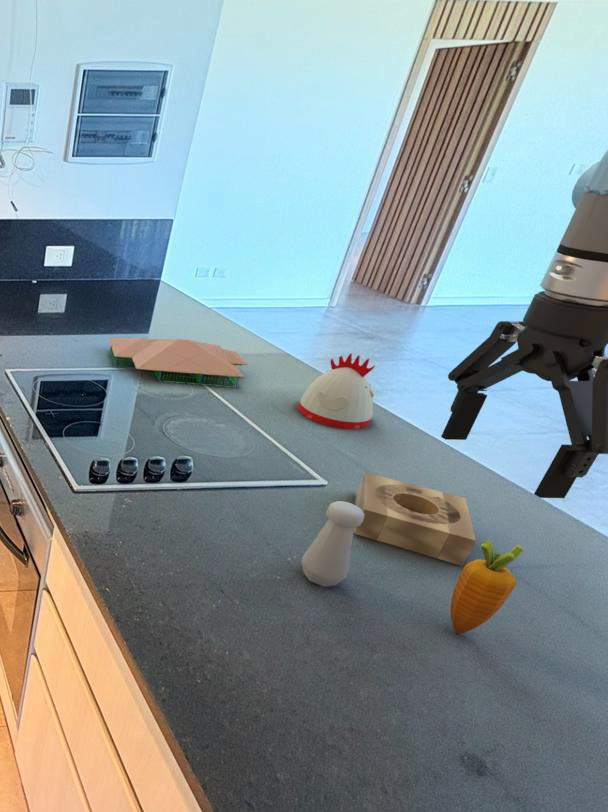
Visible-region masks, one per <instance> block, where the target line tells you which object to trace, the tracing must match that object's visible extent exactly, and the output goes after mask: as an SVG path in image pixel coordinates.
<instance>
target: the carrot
mask: <svg viewBox="0 0 608 812" xmlns="http://www.w3.org/2000/svg"><path fill="white" fill-rule="evenodd" d="M484 542H485V543H481V544H480V548H481V550H482V553H483V556H484V559H481V558H478V559H475V560H472V561H469V562H468V563H466V564H465V565H464V567H463V568H462V571H461V573H460V575H459V577H458V579H457V581H456V584H455V587H454V588H453V592H452V596H451V601H450V607H449V613H450V621H451V625H452V629H453V630H454V631H455V633H456V634H458V635H459V634H461V635H462V634H465V633H467V632H470V631H472V630H475V629H476V628H478V627H480V626H481V625H483V624H485V623H486V622H487V621H488V620H489V619H490V618H492V617H493V616H494V615H495V614H496V613H497V612H498V611H499V610H500V609H501V607H502V606H503V605H504V603H505V602H506V601H507V599H509V597H510V594H512V592H513V590H514V589H515V588H516V586H517V579H516V577H515V576H514V575H513V573H512V572H511V570H510V569H509V568H507V567H506V566H507V565H509V564H510V563H512V562H513V561H515V560H516V558H517V557H519V555H521V554H522V552H523V551H524V549H523V547H522V546H520V545H519V544H516V545H515V546H514V547H513V548H511V550H510V551H509V552H506V553H504V554H502V555H501V553H500V552H499V551H496V552H495V553H494V546H493V543H492V541H491V540H490V539H489V540H486V541H484Z"/></svg>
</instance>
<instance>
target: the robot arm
mask: <svg viewBox="0 0 608 812" xmlns="http://www.w3.org/2000/svg"><path fill="white" fill-rule="evenodd" d="M571 202H572V205H573V208H574V211H573V214H572V216H571V218H570V220H569V223H568V225H567V227H566V230H565V231H564V234H563V236H562V238H561V240H560V242H559V245H558V247H557V249H556V251H555V252H554V254H553V257H552V258H551V261H550V262H549V265H548V267H547V269H546V271H545V273H544V275H543V278H542V280H541V282H540V284H539V286H540V287H541V289H542V291H539V292H538V293H535V294H534V295H533V297H532V300H531V301H530V303H529V306H528V308H527V310H526V312H525V314H524V316H523V318H522V321H521V320H519V321H517V320H516V321H513V320H509V321H508V320H500V321H498V322H497V323H496V325H494V326H495V327H494V328H493V330H492V331H491V334H490V335H489V337H487V338H486V339H485V340H484V341H483V342H482V343H481V344H479V346H477V347H476V348H475V349H474V350H473V351H472V352H471V353H470V354H469V355H468V356H466V357H465V358H464V359H463V360H462V361H461V362H460V363H458V364H457V365H456V366H455V367H454V368H453V369H452V370H451V371H450V372H448V373H447V374H448V375H447V377H448V380H449V381H451V382H454V383H455V384H456V388H457V393H456V395H455V397H454V399H453V401H452V403H451V405H450V412H451V414H450V416H449V418H448V420H447V423H446V425H445V427H444V429H443V430H442V431H443V432H442V433H441V436H440V437H441V438H442V439H444V440H446V441H447V440H451V441H453V440H455V441H467V439H468V437H469V435H470V433H471V431H472V429H473V426H474V424H475V422H476V421H477V418H478V417H479V414H480V412H481V410H482V408H483V406H484V404H485V402H486V399H487V397H488V395H487V394H485V393H484V392H488V388H491V387H492V386H494V385H496V384H498V383H501V382H503V381H505V380H507V379H508V378H510V377H512V376H514V375H517V374H519V373H521V372H525V373H528V374H532V375H536V376H537V377H539V378H540V379H541V380H543V381H546V382H550V383H551V386H552V388H553V390H555V391H557V393H558V395H559V400H560V403H561V409H562V412H563V415H564V419H565V420H564V421H565V423H566V427H567V431H568V437H569V439H570V443H571V444H560V447H559V448H558V450H557V451H556V454H555V455H554V458H553V459H552V461H551V462H550V465H549V466H548V468H547V470H546V471H545V474H544V475H543V477H542V479H541V480H540V483H539V484H538V486H537V488H536V489H535V491H534V493H533V495H535V496H536V497H538V498H540V499H565V498H566V497H567V495H568V493H569V491H570V489H571V488H572V486H573V485H574V483H575V481H576V480H577V478H584V477H585V476H587V474H588V473H589V470H590V469H591V467H592V466H593V465H594V462H595V461H596V459H597V458H598V456H599V455H608V356H606V355H605V354H606V353H605V351H606V347H607V345H608V149H607V150H606V151H605V152H604V154H603V156H602V157H601V159H600V160H599V161H597V162H595V163H594V164H592V165H591V166H589V167H588V168H587V169H585V171H584V172H582V174H581V175H580V176H579V178H578V179H577V181H576V183H575V184H574V186H573V189H572V191H571ZM516 343H517V349H515V350H514V351H511V352H509V353H508V354H506V355H504V354H505V353H507V352H508V351H509V350H510V349H511V348H512V347H514V346H515V344H516ZM503 355H504V356H503ZM500 357H501V358H500ZM499 358H500V360H498V359H499ZM497 360H498V361H497ZM496 361H497V362H496ZM574 379H577V380H574Z"/></svg>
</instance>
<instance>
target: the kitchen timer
mask: <svg viewBox="0 0 608 812" xmlns="http://www.w3.org/2000/svg"><path fill="white" fill-rule="evenodd" d="M352 359H353V352H352V353H349V354H348V356H347V358H346V360H344V357H343V355H340V356H339V357H338V365H337V364H336V363H335V360H334V359H333V358H331V359H330V368H331V369H329V370H328V371H326V372H323V374H321V375H319V376H318V377H317V378H316V379H315V380H314V381H312V382H311V384H310V385H309V387H308V388H307V389H306V391H304V393H303V395H302V396H301V397H300V398H301V399H300V401H299V404H298V407H297V409H298V411H299V413H300V414H301V415H302V416H304V417H305V418H308V419H309V420H311V421H313V422H316V423H320V424H322V425H325V426H329V427H334V428H338V429H348V430H356V429H357V430H358V429H363V428H367V427H368V426H369V425H370V424H371V420H372V417H373V413H374V396H375V394H374V392H373V389H372V386H371V383H370V382H369V380H368V378H367V377H366V376H367V374H369V373H370V372H371V371H372V370H374V369H375V368H376V365H373V366H371V367H368V365H369V362H370V358H367V359H366V360H364V361H363V363H362V364H361V365H360V354H358V355H357V356H356V357H355V359H354V361H353V362H352Z"/></svg>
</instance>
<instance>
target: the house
mask: <svg viewBox="0 0 608 812" xmlns="http://www.w3.org/2000/svg"><path fill="white" fill-rule="evenodd" d="M108 342H109V344H110V348H109V351H110V354H111V358H112V360H113V364H114V366H115V368H116V367H117V368H118V367H120V365H121V363H119V364H118V362H119V361H125V363H132V365H128V366H127V364H124V363H122V365H121V367H127V368H132V369H134V368H135V369H136V370H144V371H153V372H154V374H155V376H156V378H157V381H158V382H161V376H162V379H164V377H165V376H166V378H165V380H164V382H165V383H166V382H167V383H170V382H171V383H174V380H172V381H170V380H171V378H169V379H168V381H167V378H168V376H169V377H173V378H172V379H174V377H175V373H176V374H177V375H176V376H177V377H175V379H176V380H175V381H177V379H178V377H179V378H181V377H182V379H184V378H185V374H187V375H186V377H189V380H188V378H186V379H185V381H187V380H188V383H189V384H190V385H191V384H192V385H196V382H197V383H198V385H203V386H204V385H205V386H208V383H209V381H207V382H206V384H205V381H206V379H207V380H210V382H212V380H213V379H210V377H207V375H208V376H211V378H214V376H218V379H217V377H215V378H214V381H213V384H215V383H216V380H217V383H216V384H215V386H219V387H222V382H223V380H224V384H223V385H226V384H225V383H226V381H228V382H227V383H230V382H231V383H230V385H228V384H227V385H226V387H227V388H228V387H229V388H230V387H231V388H237V386H238V382H239V379H240V378H245V376H244V375H243V373H242V372H241V371H240V369H238V367H237V366H248V363H246V361H245V360H244V359H243V358H242V357H241V355H240V354H239V353H238V352H237V351H235V350H229V349H225V348H222V346H220V345H217V344H213V343H207V342H202V341H196V340H191V339H179V338H177V339H176V338H175V339H173V338H169V339H168V338H167V339H166V338H165V339H164V338H163V339H159V338H145V337H144V338H143V337H110V338H108ZM117 365H118V366H117ZM123 365H124V366H123ZM129 366H130V367H129ZM162 372H163V374H164V375H162ZM165 372H167V374H165ZM168 373H174V374H173V375H172V374H170V375H169V374H168ZM179 373H180V375H179ZM182 374H183V376H182ZM189 374H192V375H193V376H192V375H190V376H188V375H189ZM204 375H205V376H204ZM203 376H204V377H203ZM220 377H221V378H220ZM224 377H225V379H223V378H224ZM227 377H228V380H227ZM191 378H192V380H194V379H195V380H196V381H195V383H194V381H192V382H190V380H191ZM202 379H204V380H203V383H202ZM219 380H221V382H220V385H219ZM180 381H181V379H179V381H177V383H178V384H179V383H181V384H184V382H183V381H184V380H182V381H181V382H180ZM232 384H233V385H232ZM209 386H212V383H209Z"/></svg>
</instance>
